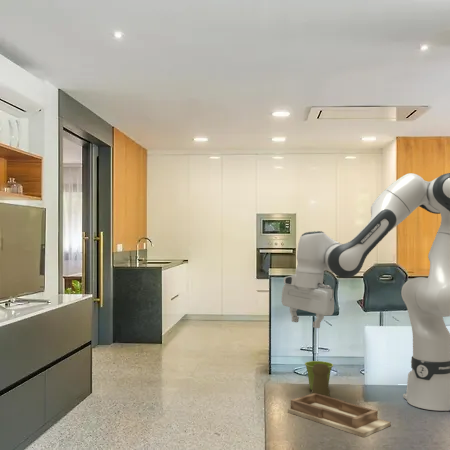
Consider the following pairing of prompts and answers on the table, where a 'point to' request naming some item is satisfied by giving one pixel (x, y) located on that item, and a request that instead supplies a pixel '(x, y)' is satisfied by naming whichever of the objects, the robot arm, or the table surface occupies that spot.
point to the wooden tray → (338, 414)
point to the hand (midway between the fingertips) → (305, 324)
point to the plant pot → (311, 375)
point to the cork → (320, 379)
